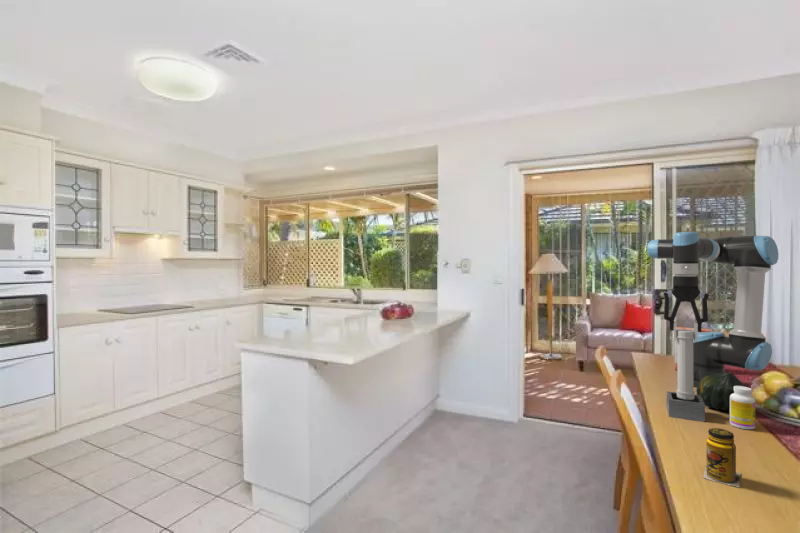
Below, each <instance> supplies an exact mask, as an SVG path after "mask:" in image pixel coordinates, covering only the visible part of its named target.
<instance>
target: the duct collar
mask: <svg viewBox="0 0 800 533" xmlns="http://www.w3.org/2000/svg"><path fill="white" fill-rule="evenodd" d="M666 411H667V414H668V415H667V416H668V417H669V418H676V419H681V420H682V419H683V420H688V421H696V422H706V406H705V404H704V402H703V400H702V398H701V396H700V395H697V394H694V400H684V399H680V398H678V397H677V391H676V392H674V391H666Z"/></svg>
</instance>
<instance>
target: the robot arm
mask: <svg viewBox="0 0 800 533" xmlns="http://www.w3.org/2000/svg"><path fill="white" fill-rule="evenodd" d="M646 252H647V255H648V257H650V258H651V259H659V260H660V259H665V260H666V259H668V260H669V259H670V260H671V259H672V260H673V261H672V274H673V275H674V276H672V288H671V290H669V291H664V292H663V293H662V295H663V297H664V307H663V308H664V309H663V318H664V320H666V321H669V330H670V331H671V332H672V339H673V341H675V340H676V327H677V321H675V319H676V318H677V316H676V315H677V313H678V311H679V308H680V305H681V303H684V302H687V303H690V305H691V309H692V311H693V312H692V313H693V315H694V317H695V321H696V322H693V328H694V337H695V338H694V339H693V387H696V388H697V385H698V384H699V382H700V381H701V380H702V379H703V378H704V377H706V376H708V375H712V374H717V373H721V372H726V371H725V370H726V369H725V366H730V367H736V368H741V369H745V370H750V371H752V370H753V371H757V372H758V371H762V370H764V369H766V367H767V366H769V364H770V362H771V358H772V355H773V349H772V348H773V347H772V345H771V343H770V342H768V341H766V340H767V337H766V336H765V335H764V334H763V333H762V325H763V311H764V297H765V296H764V294H765V281H766V273H768V272H769V271H770V270H771V268H772V267H771V266H773V265H776V264H778V260H779V249H778V244H777V243H776V241H775V240H774V239H773V238H772V237H771V236H769V235H746V236H745V235H744V236H725V237H717V238H709V237H700V236H699V233H698V232H697V231H681V232H675V233H674V234H673V238H668V239H667V238H665V239H663V238H662V239H652V240H650V241H649V242H648V243H647V247H646ZM699 260H700V261H702V262H707V263H708V262H710V263H716V264H723V265H733V269H734V270H736V272H737V279H736V281H737V283H736V284H737V285H736V294H735V295H736V296H735V298H736V299H735V310H734V324H733V330H732V331H730V332H729V333H728V336H726V334H725V332H721V331H710V332H701V329H702V324H703V323H707V322H708V321H709V316H708V315H709V313H708V311H709V310H708V299H709V297H710V294H709V293H707V292H702V291H700V288H699V277H698V275H699ZM672 295H673V297H674V298H675V302H674V306H673V308H672V311H671V314H670V316H669V313H670V312H669V311H670V309H669V308H670V298H671V297H672ZM697 297H700V299H701V306H702V307H701V308H702V310H701V312H702V317H701V316H700V313H699V310H698V307H697V303H696V299H697Z"/></svg>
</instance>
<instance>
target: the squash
mask: <svg viewBox="0 0 800 533" xmlns="http://www.w3.org/2000/svg"><path fill="white" fill-rule="evenodd" d="M734 386H744V387H746V386H745V385H744V383H743V382H742V381H741V380H740V379H739V378H738V377H737V376H736V375H735V374H734V373H732V372H731V371H725V372H721V373H717V374H712V375H708V376H706V377H704V378H703V379H702V380H701V381H700V382H699V384H698V385H697V387H696V395H700V396H701V398H702V400H703V402H704V404H705V407H707V408H712V409H716V410H719V409H720V410H722V411H726V412H728V413H730V395H731V394H733V393H734V390H733V389H734Z"/></svg>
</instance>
